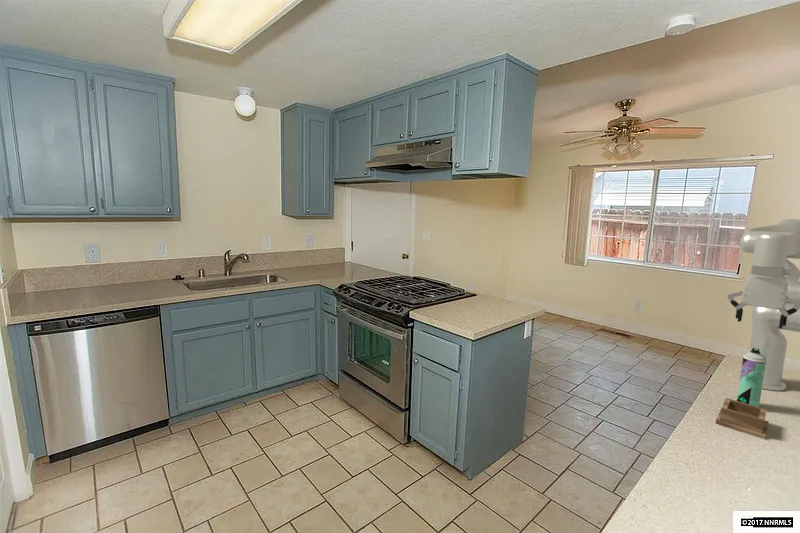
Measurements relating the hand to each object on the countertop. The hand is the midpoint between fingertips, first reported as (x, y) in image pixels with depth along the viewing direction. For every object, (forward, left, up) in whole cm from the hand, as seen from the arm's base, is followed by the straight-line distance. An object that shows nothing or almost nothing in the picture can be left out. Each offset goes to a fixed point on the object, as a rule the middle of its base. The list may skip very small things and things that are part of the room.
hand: (759, 324), depth 120 cm
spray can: (0, 0, -29) cm, 29 cm away
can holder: (+16, 0, -28) cm, 32 cm away
